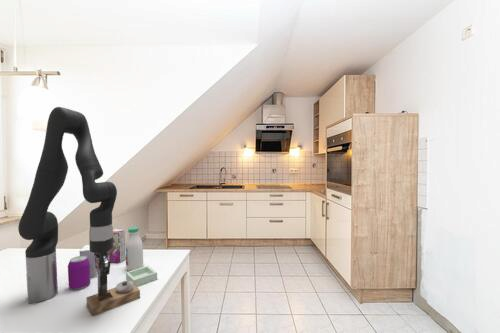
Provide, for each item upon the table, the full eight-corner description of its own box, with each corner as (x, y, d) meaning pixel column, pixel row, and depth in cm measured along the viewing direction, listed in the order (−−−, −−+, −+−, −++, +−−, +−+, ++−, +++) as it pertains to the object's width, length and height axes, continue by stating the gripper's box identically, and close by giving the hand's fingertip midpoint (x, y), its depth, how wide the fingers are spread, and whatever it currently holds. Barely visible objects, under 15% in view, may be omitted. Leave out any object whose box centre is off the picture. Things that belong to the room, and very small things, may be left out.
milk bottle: (146, 264, 128) (145, 225, 127) (138, 271, 120) (136, 230, 119) (131, 264, 129) (130, 225, 128) (122, 271, 121) (121, 230, 120)
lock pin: (98, 297, 91) (97, 265, 90) (95, 293, 94) (94, 261, 93) (109, 294, 93) (109, 262, 93) (107, 289, 96) (106, 258, 96)
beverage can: (68, 285, 108) (66, 258, 108) (89, 279, 113) (87, 253, 113) (69, 292, 103) (68, 263, 102) (91, 286, 107) (90, 258, 107)
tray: (133, 287, 106) (133, 280, 106) (125, 279, 113) (125, 272, 113) (157, 279, 113) (157, 272, 113) (148, 271, 120) (148, 265, 120)
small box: (86, 271, 121) (85, 244, 121) (101, 269, 123) (100, 243, 123) (80, 279, 114) (79, 250, 113) (96, 277, 116) (95, 249, 115)
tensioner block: (92, 316, 87) (91, 299, 87) (86, 305, 94) (86, 289, 94) (140, 297, 98) (139, 283, 98) (131, 288, 105) (131, 275, 105)
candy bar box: (100, 262, 132) (99, 231, 131) (107, 258, 137) (105, 228, 136) (120, 263, 130) (118, 232, 129) (126, 259, 135) (125, 229, 134)
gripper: (85, 234, 95) (86, 279, 96) (94, 244, 85) (95, 294, 86) (107, 230, 100) (108, 273, 101) (118, 239, 90) (119, 286, 91)
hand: (102, 282), depth 93 cm, fingers closed on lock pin, 3 cm apart
